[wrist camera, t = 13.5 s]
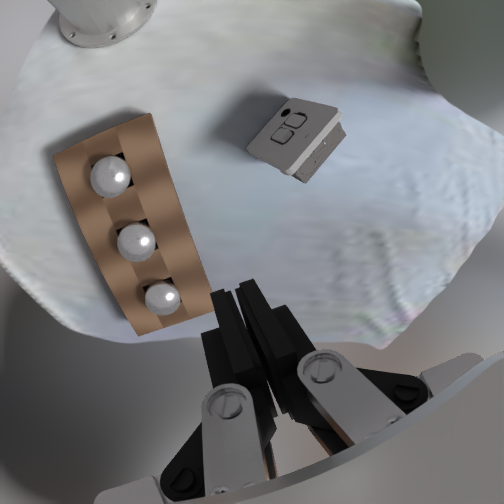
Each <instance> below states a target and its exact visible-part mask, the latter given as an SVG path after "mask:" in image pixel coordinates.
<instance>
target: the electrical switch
mask: <svg viewBox="0 0 504 504" xmlns="http://www.w3.org/2000/svg"><path fill="white" fill-rule="evenodd" d="M341 118H342V113H341V112H340V111H339V110H338V108H335V107H332V106H328V105H324V104H319V103H315V102H311V101H306V100H302V99H297V98H292V99H289V100H288V101H287V102H286V103H285V104H284V105H283V106H282V107H281V109H280V110H279V111H278V112H277V113H276V114H275V115H274V116H273V117H272V118H271V120H270V121H269V122H268V123H267V124H266V125H265V126H264V127H263V129H262V130H261V131H260V132H259V133H258V134H257V135H256V137H255V138H254V139H253V140H252V141H251V142H250V144H249V145H248V146H247V151H248V152H249V153H250V154H251V155H252V156H254V157H256V158H258V159H260V160H262V161H264V162H266V163H268V164H270V165H272V166H274V167H276V168H278V169H279V170H281V171H280V172H282V173H283V174H285V175H291V176H293V177H295V178H296V179H298V180H300V181H301V182H303V181H304V182H303V183H307V182H308V180H309V179H310V178H311V177H312V176H313V174H314V173H315V172H316V171H317V170H318V168H319V167H320V166H321V165H322V164H323V162H324V161H325V160H326V159H327V158H328V157H329V155H330V154H331V153H332V152H333V151H334V149H335V148H336V147H337V146H338V145H339V143H340V142H341V141H342V140H343V139H344V137H345V136H346V134H345V132H344V131H343V129H342V127H341V124H340V123H339V120H340V119H341ZM338 139H339V140H338ZM321 141H322V142H321ZM324 142H325V143H326V144H327V145H325V144H324ZM314 155H315V156H316V157H315V156H314ZM308 156H310V157H308ZM314 159H315V161H314ZM299 167H300V168H299ZM304 174H305V175H304ZM300 178H301V179H302V180H303V181H302V180H301V179H300Z"/></svg>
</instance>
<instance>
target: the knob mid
mask: <svg viewBox="0 0 504 504" xmlns="http://www.w3.org/2000/svg"><path fill="white" fill-rule="evenodd" d="M155 242H156V239H155V234H154V232H153V230H152V229H151V228H150V225H149V223H148V220H147V218H145V219H143V220H140V221H137V222H132V223H129V224H127V225H126V226H125V227H122V228H121V230H120V233H119V237H118V240H117V246H118V250H119V252H120V254H121V255H122V256H123V257H124V258H125V259H127V260H129V261H132V262H142V261H145V260H146V259H148V258H149V257H150V256H151V255H152V254H153V252H154V249H155Z"/></svg>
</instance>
